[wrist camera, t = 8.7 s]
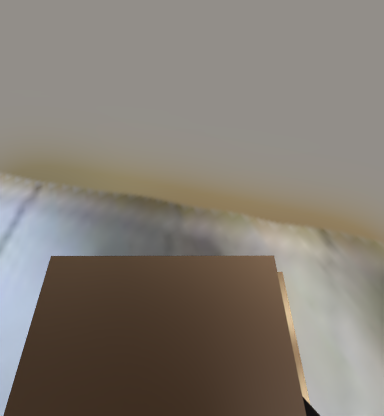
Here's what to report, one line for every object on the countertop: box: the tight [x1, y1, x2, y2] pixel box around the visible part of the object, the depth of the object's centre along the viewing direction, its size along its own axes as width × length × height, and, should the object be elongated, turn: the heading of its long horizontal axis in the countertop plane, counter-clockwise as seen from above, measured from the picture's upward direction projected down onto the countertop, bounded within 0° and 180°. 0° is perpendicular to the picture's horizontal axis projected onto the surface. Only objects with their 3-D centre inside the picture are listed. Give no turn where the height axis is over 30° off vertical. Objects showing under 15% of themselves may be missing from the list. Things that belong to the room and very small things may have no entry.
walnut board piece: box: [4, 256, 306, 416], centre depth 8 cm, size 5×4×12 cm
